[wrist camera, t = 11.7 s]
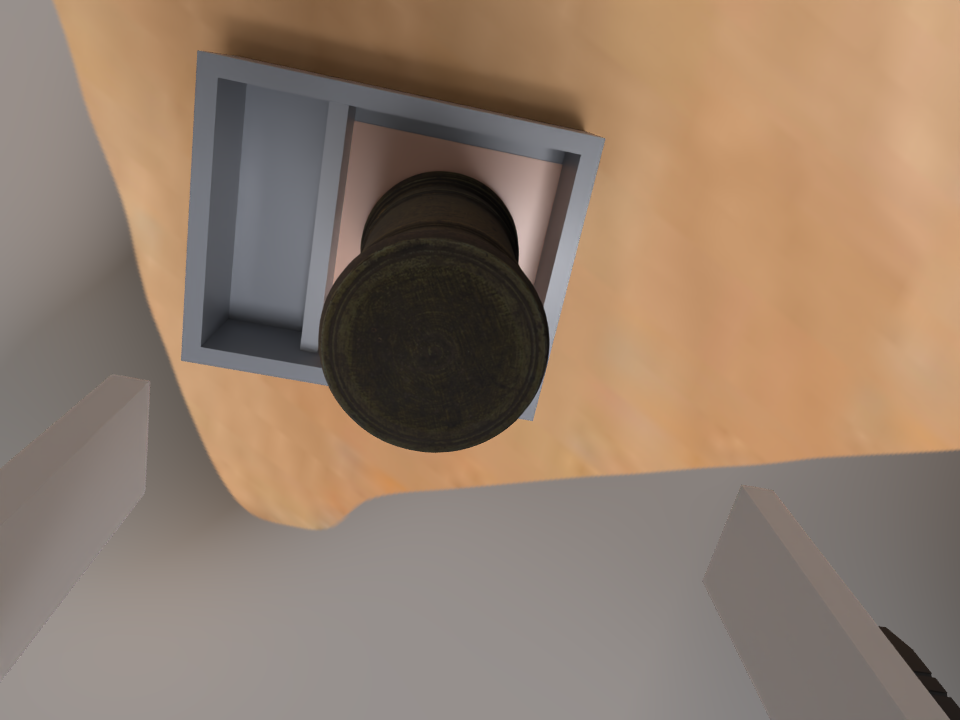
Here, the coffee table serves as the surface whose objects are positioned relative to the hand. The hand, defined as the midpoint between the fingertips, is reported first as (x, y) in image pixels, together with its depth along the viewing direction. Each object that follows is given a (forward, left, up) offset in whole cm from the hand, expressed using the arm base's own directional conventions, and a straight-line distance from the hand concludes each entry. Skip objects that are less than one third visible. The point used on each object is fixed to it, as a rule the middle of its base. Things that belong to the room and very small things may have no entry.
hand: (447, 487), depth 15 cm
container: (+1, -1, -28) cm, 28 cm away
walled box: (+1, -4, -29) cm, 29 cm away
